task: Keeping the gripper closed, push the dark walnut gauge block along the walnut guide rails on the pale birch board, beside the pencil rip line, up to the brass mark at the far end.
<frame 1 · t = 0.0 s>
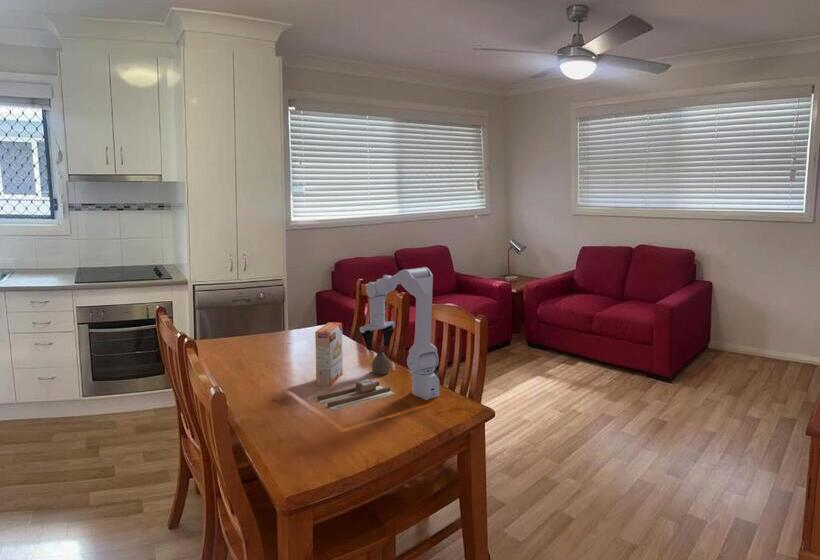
hand: (377, 348, 217), 10 cm above the table, tool pointing down, fingers open, 7 cm apart
birch board: (354, 398, 195), on the table
gauge block: (365, 392, 197), point 1 cm above the table, touching birch board
cracker box: (330, 382, 211), on the table
vase: (381, 375, 218), on the table
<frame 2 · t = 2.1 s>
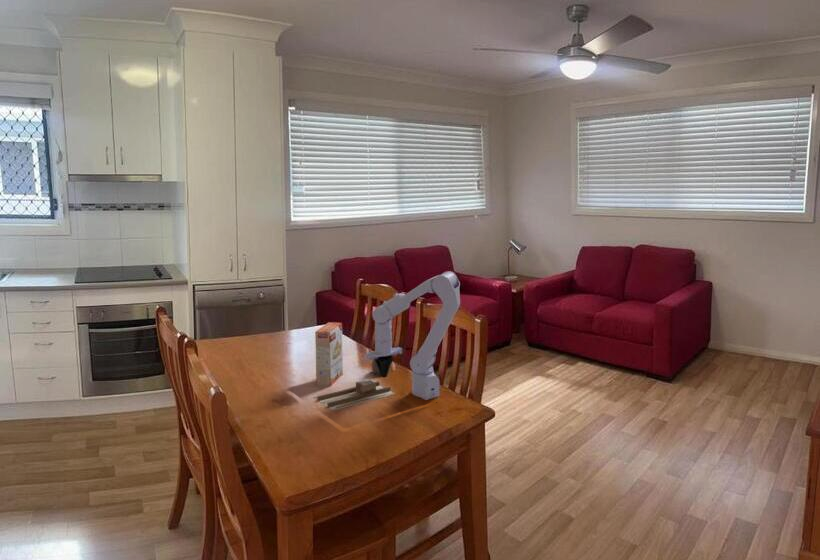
hand: (383, 376, 201), 5 cm above the table, tool pointing down, fingers closed
nothing on the table moved.
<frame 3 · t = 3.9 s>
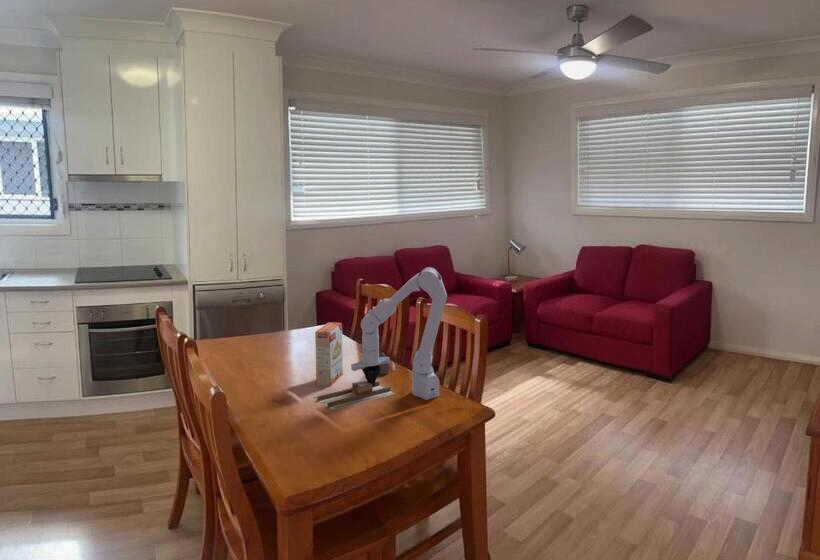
hand: (371, 386, 198), 3 cm above the table, tool pointing down, fingers closed
gauge block: (362, 393, 197), point 1 cm above the table, touching gripper
everything else where it was.
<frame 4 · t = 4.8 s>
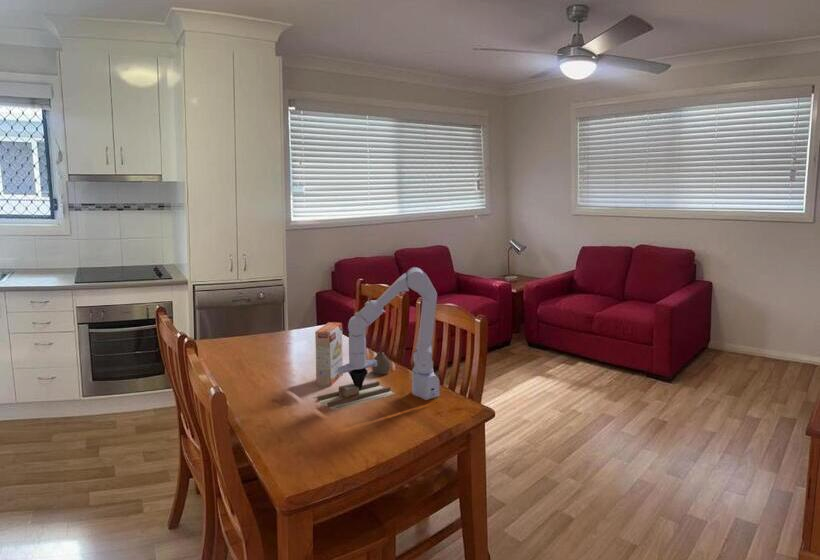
hand: (358, 389, 195), 3 cm above the table, tool pointing down, fingers closed
gauge block: (349, 396, 193), point 1 cm above the table, touching gripper
everything else where it was.
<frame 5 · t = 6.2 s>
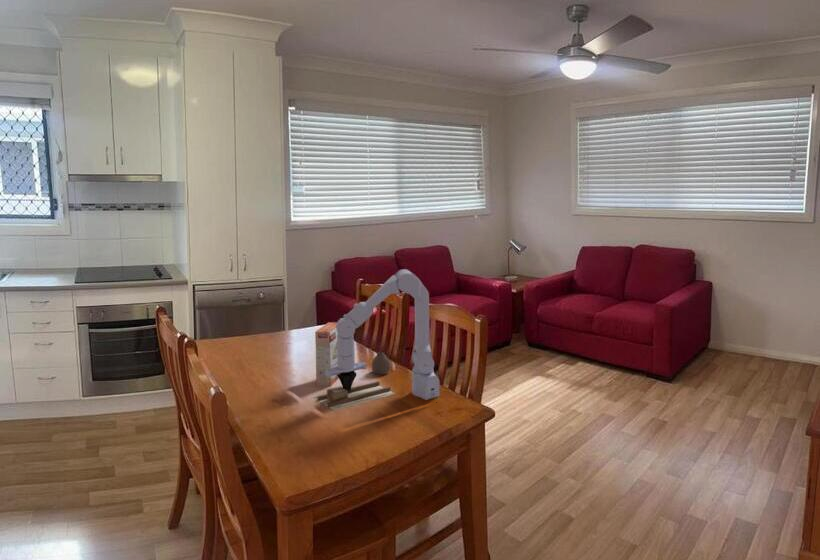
hand: (346, 392, 193), 3 cm above the table, tool pointing down, fingers closed
gauge block: (337, 399, 191), point 1 cm above the table, touching birch board, gripper
everything else where it was.
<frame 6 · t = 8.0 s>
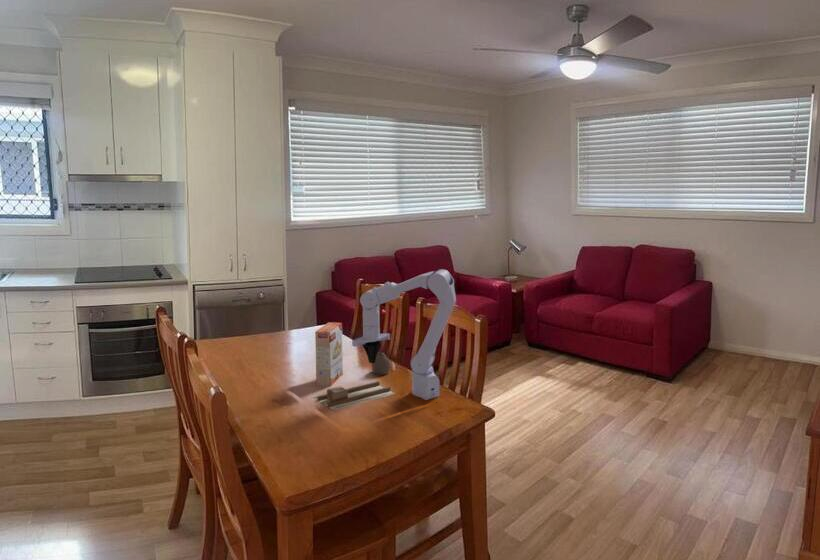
hand: (371, 362, 200), 10 cm above the table, tool pointing down, fingers closed
gauge block: (337, 399, 191), point 1 cm above the table, touching birch board
everything else where it was.
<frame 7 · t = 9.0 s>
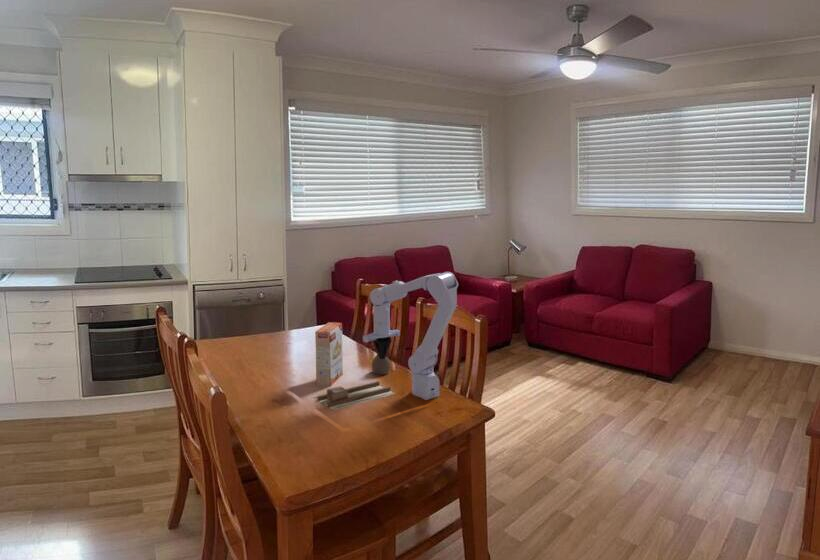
hand: (382, 358, 204), 10 cm above the table, tool pointing down, fingers closed
nothing on the table moved.
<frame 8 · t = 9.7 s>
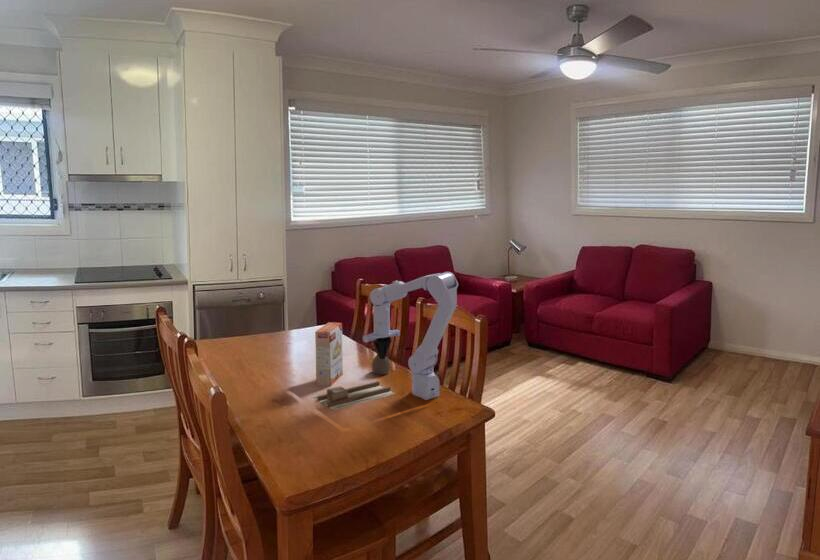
hand: (382, 358, 204), 10 cm above the table, tool pointing down, fingers closed
nothing on the table moved.
at the end: gauge block 0.1 cm from the target spot, point 1.0 cm above the table; gauge block moved 11.1 cm from its start; gauge block tilted 0° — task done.
